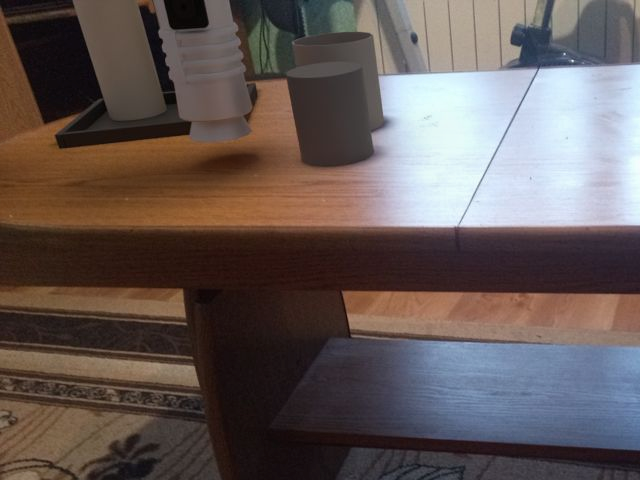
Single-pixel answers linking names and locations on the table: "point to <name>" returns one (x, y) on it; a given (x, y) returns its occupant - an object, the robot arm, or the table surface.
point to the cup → (346, 50)
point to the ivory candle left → (121, 58)
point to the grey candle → (330, 113)
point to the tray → (128, 124)
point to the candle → (208, 74)
